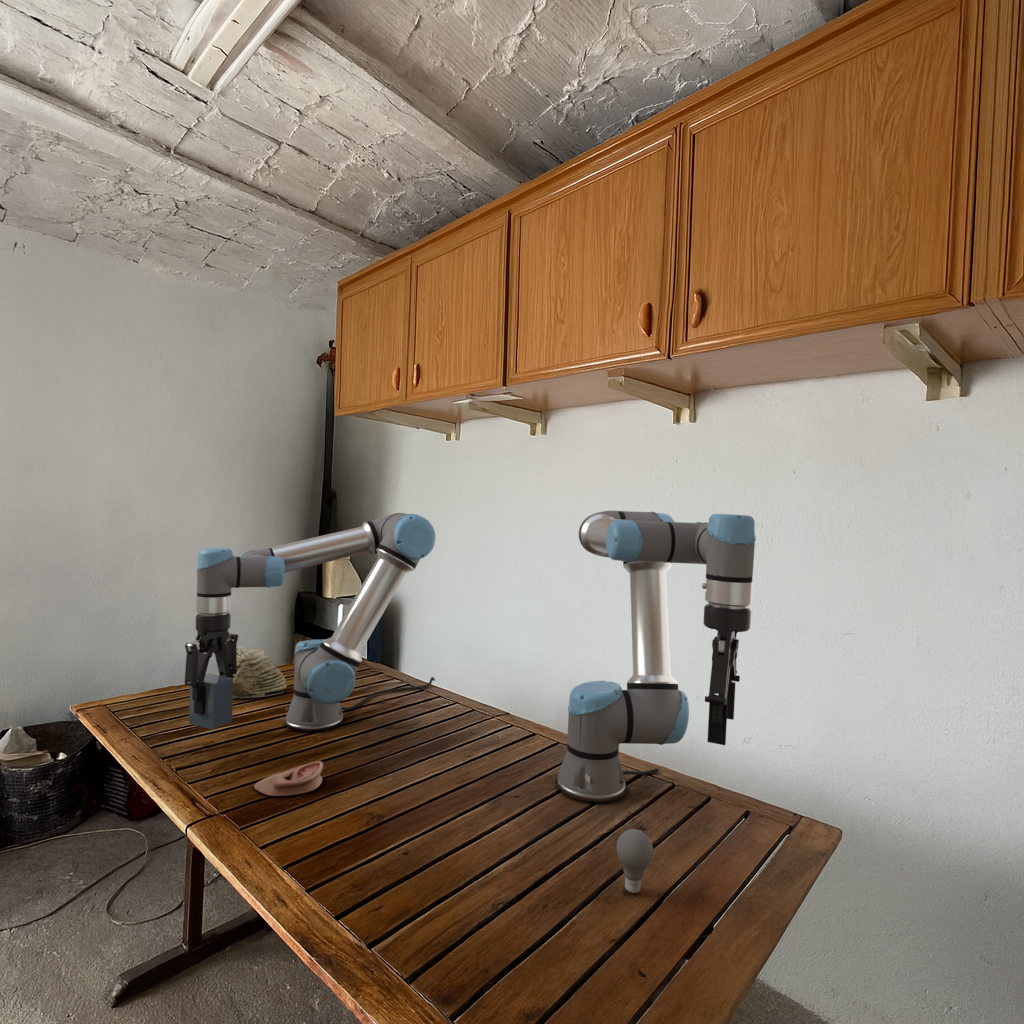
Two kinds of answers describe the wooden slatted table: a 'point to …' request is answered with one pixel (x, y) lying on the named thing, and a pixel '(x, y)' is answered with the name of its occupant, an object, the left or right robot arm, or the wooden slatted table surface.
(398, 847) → the wooden slatted table surface
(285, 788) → the anatomical model
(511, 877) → the wooden slatted table surface
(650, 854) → the light bulb
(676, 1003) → the wooden slatted table surface
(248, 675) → the fossil
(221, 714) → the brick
